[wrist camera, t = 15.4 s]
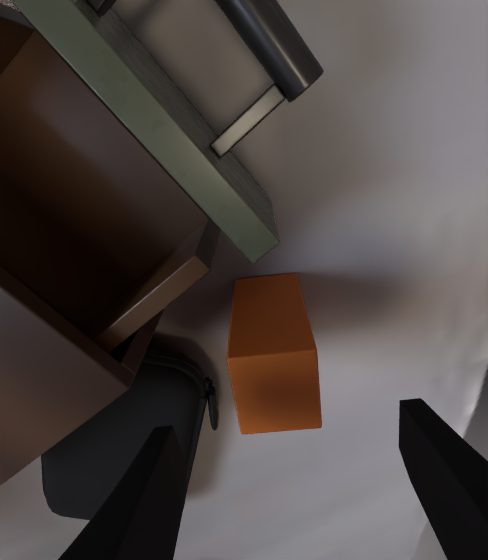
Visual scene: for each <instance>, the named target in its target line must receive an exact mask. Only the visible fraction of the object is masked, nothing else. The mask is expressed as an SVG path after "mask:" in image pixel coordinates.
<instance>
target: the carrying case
mask: <svg viewBox="0 0 488 560" xmlns="http://www.w3.org/2000/svg"><path fill="white" fill-rule="evenodd" d="M207 399H208V408H209V416H210V422H211V426H212V428H213V430H214V431H215V430H216V429H217V427H218V423H219V410H218V401H217V393H216V389H215V387H214V386H213V381H212V380H211V379H210V378H209V377H206V376H205V374H204V372H203V370H202V369H201V368H200V366H199V365H198V364H197V363H195V362H194V361H193V360H191V359H190V358H188V357H186V356H184V355H181V354H176V353H171V352H165V351H159V350H153V349H148V348H147V349H146V352H145V354H144V356H143V359H142V361H141V363H140V366H139V368H138V370H137V373H136V375H135V377H134V379H133V382H132V384H131V386H130V389H129V390H127V391H126V392H125V393H123V394H122V395H121V396H119V397H118V398H117V399H115V400H114V401H113V402H111V403H110V404H109V405H107V406H106V407H105V408H103V409H102V410H101V411H99V412H98V413H97V414H95V415H94V416H93V417H91V418H90V419H89V420H87V421H86V422H84V423H83V424H82V425H80V426H79V427H78V428H76V429H75V430H74V431H72V432H71V433H70V434H68V435H67V436H66V437H64V438H63V439H62V440H60V441H59V442H58V443H56V444H55V445H54V446H52V447H51V448H50V449H48V450H47V451H46V452H44V453H43V454H42V455H41V462H42V482H43V491H44V495H45V497H46V500H47V504H48V506H49V508H50V509H51V510H52V512H54V513H56V514H58V515H60V516H65V517H71V518H78V519H85V520H91V519H92V517H93V516H94V515H95V513H96V512H97V511H98V509H99V508H100V507H101V505H102V504H103V503H104V501H105V500H106V499H107V497H108V496H109V495H110V493H111V492H112V490H113V489H114V488H115V486H116V485H117V483H118V482H119V480H120V479H121V477H122V476H123V474H124V473H125V472H126V470H127V469H128V467H129V466H130V464H131V463H132V461H133V459H134V458H135V456H136V455H137V453H138V452H139V450H140V449H141V447H142V446H143V444H144V442H145V441H146V439H147V438H148V436H149V435H150V433H151V432H152V430H153V429H154V428H155V427H161V426H170V425H173V427H174V430H175V433H176V436H177V439H178V442H179V445H180V448H181V450H182V453H183V456H184V459H185V462H186V465H187V480H186V491H185V498H186V493H187V489H188V484H189V480H190V475H191V471H192V466H193V462H194V457H195V453H196V448H197V444H198V439H199V435H200V430H201V426H202V421H203V417H204V412H205V408H206V403H207ZM184 504H185V501H184ZM183 509H184V507H183Z"/></svg>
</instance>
